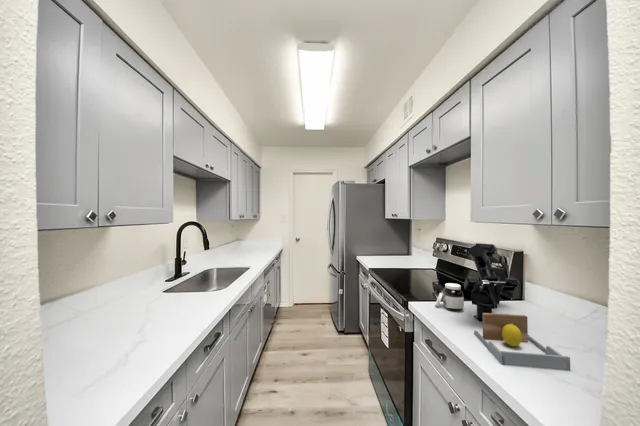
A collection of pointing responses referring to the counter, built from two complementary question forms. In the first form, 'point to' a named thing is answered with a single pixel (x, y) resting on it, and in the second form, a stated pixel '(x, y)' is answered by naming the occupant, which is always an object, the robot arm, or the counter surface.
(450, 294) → the spread jar
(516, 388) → the counter surface
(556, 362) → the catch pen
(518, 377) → the counter surface
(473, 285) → the robot arm
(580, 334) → the counter surface
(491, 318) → the board
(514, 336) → the lemon
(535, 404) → the counter surface
